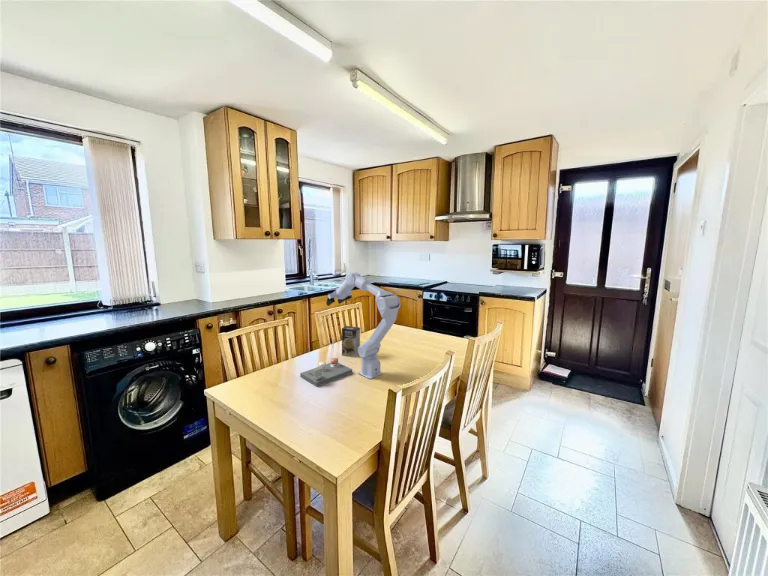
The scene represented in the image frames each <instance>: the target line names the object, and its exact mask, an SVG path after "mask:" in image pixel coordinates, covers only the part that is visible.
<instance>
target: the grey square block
mask: <svg viewBox="0 0 768 576" xmlns="http://www.w3.org/2000/svg"><path fill="white" fill-rule="evenodd" d="M321 378H324V376H323V368H318V369H315V370H314V376H313V379H315V380H319V379H321Z"/></svg>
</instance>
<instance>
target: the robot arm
mask: <svg viewBox="0 0 768 576" xmlns="http://www.w3.org/2000/svg"><path fill="white" fill-rule="evenodd" d="M355 287H356V288H358V289H360V290H362V292H366V291H368V292H369V293H371V295H373V296H375V302H376V307H377V309H378V312H379V314H380V316H381V318H382V319H381V321H380V322H379V323H378V325H377V326H376V328H375V329H374V331H373V333H372V334H371V336H370V337H369V338H368V339H367V340H365V342H362V344H360V346H359V347H358V354H359V355H358V356H359V357H360V358H361V360H360V361H361V362H360V363H361V365H360V366H361V367H360V368H361V370H360V371H357V374H359V375H360V376H363V377H365V378H367V379H369V380H372V379H374V378H377V377H379V376H381V375H382V372H381V361H380V360H379V359H378V358H377V356H378V353H379V352H380V347H382V345H381V342H382V340H384V338H385V337H386V335H387V333H388V332H389V331H390V329H391V328H392V327H393V325H394V324H395V322H396V321H397V318H398V313H399V309H400V307H401V301H400V298H399V296H398V295H396V294H394V293H392V292H390V291H388V290H385V289H383V288H381V287H378V286H377V285H374V284H371V280H369V279H367V277H366V276H364V277H363V276H362V274H360V273H359V272H349V273H347V274H346V275H345V280H344V281H343V282H342V283H341V285H339V287H336V288H335V290H334V291H333V292H328V293H327V299H326V302H325V303H326V305H327V306H328V307H329V306H331V305H332V304H334V303H336V300H335V299H337V303H338V305H340V304H342V303H344V302H345V301H347V300H348V301H349V300H350V296H352V294H353V293H352V290H353V289H354V288H355Z"/></svg>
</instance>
